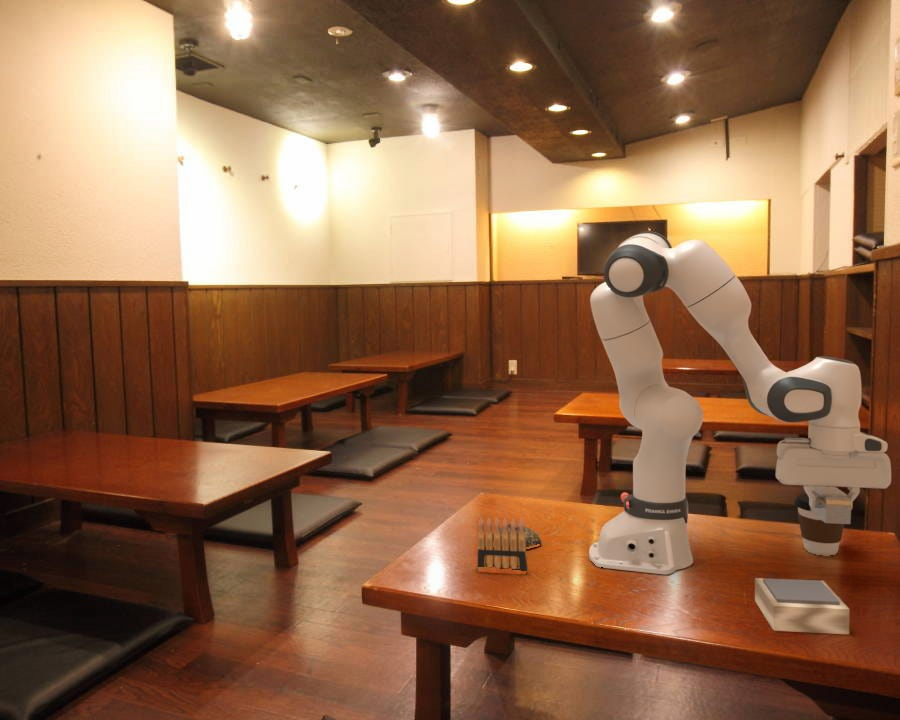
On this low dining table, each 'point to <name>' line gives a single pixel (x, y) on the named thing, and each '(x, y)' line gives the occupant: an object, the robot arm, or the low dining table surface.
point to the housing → (832, 505)
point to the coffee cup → (817, 530)
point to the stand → (801, 606)
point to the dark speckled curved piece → (529, 534)
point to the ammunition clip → (504, 555)
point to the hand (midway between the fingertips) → (830, 507)
